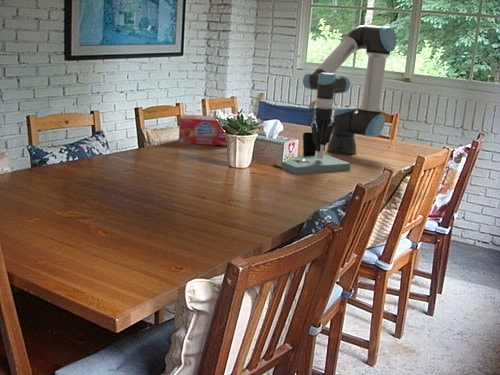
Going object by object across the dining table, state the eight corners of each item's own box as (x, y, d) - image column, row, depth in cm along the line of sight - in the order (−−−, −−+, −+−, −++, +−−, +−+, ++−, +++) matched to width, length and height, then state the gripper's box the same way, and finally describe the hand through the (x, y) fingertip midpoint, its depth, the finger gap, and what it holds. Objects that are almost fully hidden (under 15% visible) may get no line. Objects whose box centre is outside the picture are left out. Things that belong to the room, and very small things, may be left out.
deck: (326, 161, 311) (327, 154, 310) (349, 169, 296) (350, 163, 295) (274, 164, 296) (274, 158, 295) (295, 174, 281) (296, 167, 280)
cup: (316, 157, 318) (318, 133, 315) (316, 160, 311) (318, 136, 308) (301, 155, 319) (303, 132, 316) (300, 159, 311) (302, 134, 308)
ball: (305, 161, 296) (300, 156, 293) (310, 163, 292) (305, 158, 290) (300, 168, 295) (295, 163, 293) (305, 170, 292) (300, 165, 290)
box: (177, 143, 331) (178, 117, 327) (182, 138, 343) (183, 113, 340) (230, 147, 329) (231, 121, 325) (233, 142, 341) (234, 117, 338)
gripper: (330, 105, 297) (326, 155, 303) (307, 106, 290) (303, 157, 297) (340, 108, 291) (335, 159, 297) (317, 109, 284) (312, 160, 290)
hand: (319, 158), depth 297 cm, fingers closed
